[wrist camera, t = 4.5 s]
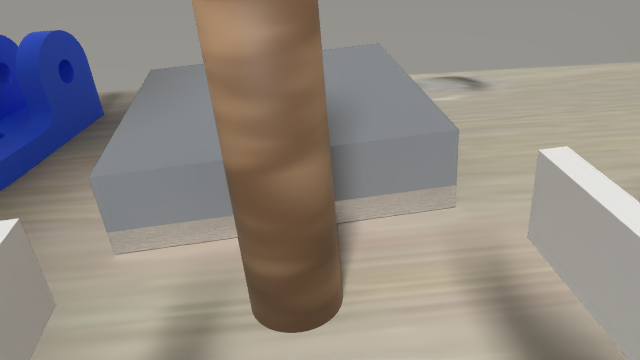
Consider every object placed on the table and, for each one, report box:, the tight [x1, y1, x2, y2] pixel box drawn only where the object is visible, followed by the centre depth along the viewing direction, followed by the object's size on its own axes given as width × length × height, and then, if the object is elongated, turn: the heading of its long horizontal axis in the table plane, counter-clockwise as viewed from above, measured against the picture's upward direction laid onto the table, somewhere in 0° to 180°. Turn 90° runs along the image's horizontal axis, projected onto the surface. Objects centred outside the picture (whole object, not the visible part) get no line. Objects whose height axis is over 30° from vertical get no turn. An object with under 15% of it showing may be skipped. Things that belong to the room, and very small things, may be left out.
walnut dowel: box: [192, 0, 343, 333], centre depth 21 cm, size 4×4×16 cm
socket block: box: [88, 43, 459, 254], centre depth 38 cm, size 20×20×5 cm
